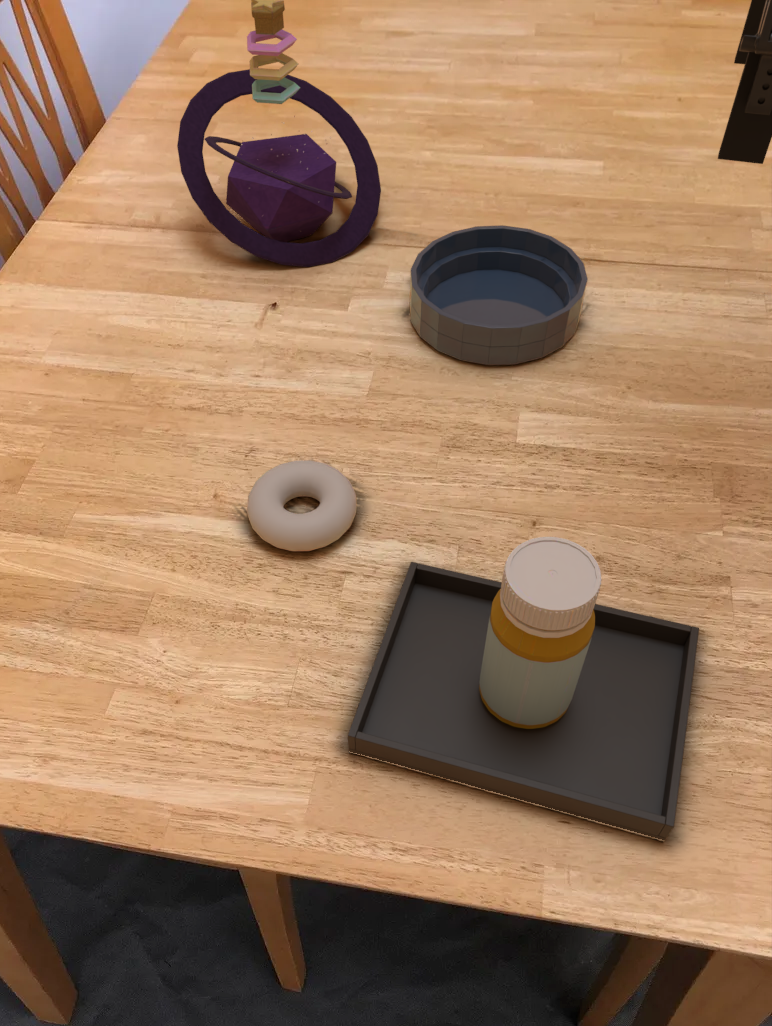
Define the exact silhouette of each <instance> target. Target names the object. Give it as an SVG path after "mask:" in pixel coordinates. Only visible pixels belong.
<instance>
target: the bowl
mask: <svg viewBox="0 0 772 1026" xmlns="http://www.w3.org/2000/svg"><path fill="white" fill-rule="evenodd" d="M409 276H410V277H409V279H410V282H409V318H410V319H409V320H410V323H411V325H412V326H413V327H414V329H415V331H416V333H417V334H418V336H419V338H420V339H422V340H423V341H425V342H426V343H427V344H428V345H430V346H431V347H432V348H433V349H435V350H436V351H438V352H440V353H442V354H444V355H447V356H449V357H452V358H454V359H457V360H459V361H464V362H468V363H473V364H480V365H486V366H504V365H507V366H508V365H518V364H523V363H527V362H531V361H534V360H535V361H536V360H538V359H543V358H545V357H546V356H548V355H550V354H552V353H554V352H556V351H557V350H559V349H561V348H563V347H564V346H565V345H566V344H567V342H569V340H570V339H571V338H572V337H573V336H574V335H575V334H576V332H577V329H578V326H579V322H580V319H581V314H582V310H583V305H584V300H585V296H586V291H587V284H588V281H589V280H588V279H589V277H588V275H587V271H586V267H585V264H584V262H583V261H582V259H581V258H580V257H579V256H578V255H577V253H576V252H575V251H574V249H572V247H570V246H568V245H566V244H565V243H563V242H562V241H560V240H558V239H557V238H555V237H554V236H552V235H548V234H546V233H543V232H540V231H536V230H534V229H531V228H526V227H518V226H512V225H503V224H502V225H501V224H500V225H499V224H498V225H478V226H473V227H472V226H471V227H468V228H463V229H458V230H455V231H451V232H448V233H446V234H445V235H442V236H441V237H438V238H436V239H434V240H432V241H431V242H429V244H428V245H427V246H425V247H424V248H423V249H422V250H421V251H419V253H417V255H416V257H415V259H414V261H413V263H412V265H411V268H410V275H409Z"/></svg>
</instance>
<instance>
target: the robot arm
mask: <svg viewBox="0 0 772 1026" xmlns="http://www.w3.org/2000/svg"><path fill="white" fill-rule="evenodd" d="M737 46H738V47H737V50H736V53H735V57H734V62H733V63H734V64H738V65H744V66H743V69H742V73H741V76H740V80H739V83H738V86H737V91H736V92H735V95H734V96H735V97H734V99H733V103H732V107H731V110H730V114H729V116H728V120H727V124H726V127H725V130H724V134H723V137H722V140H721V143H720V147H719V151H718V155H717V160H723V161H732V162H739V163H740V162H742V163H751V164H758V165H759V164H760V165H763V164H764V161H765V158H766V155H767V152H768V149H769V148H770V147H769V146H770V144H771V141H772V0H751V1H750V5H749V8H748V11H747V15H746V19H745V22H744V25H743V29H742V32H741V36H740V39H739V43H738V45H737Z"/></svg>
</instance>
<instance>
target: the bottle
mask: <svg viewBox="0 0 772 1026" xmlns="http://www.w3.org/2000/svg"><path fill="white" fill-rule="evenodd" d="M602 581H603V580H602V571H601V568H600V565H599V563H598V561H597V560H596V558H595V557H594V556H593V554H592V553H591V552H590V551H589V550H588V549H586V548H585V547H584V546H582V545H580V544H579V543H577V542H574V541H572V540H570V539H567V538H564V537H557V536H539V537H534V538H530V539H528V540H525V541H524V542H521V543H520V544H518V545H517V546H516V547H515V548H513V549H512V551H511V552H510V553H509V555H508V557H507V559H506V561H505V562H504V568H503V573H502V578H501V582H502V584H501V589H500V590H499V591H498V593H497V594H496V596H495V598H494V600H493V603H492V607H491V611H490V618H489V624H488V630H487V636H486V642H485V649H484V655H483V661H482V667H481V674H480V682H479V683H480V684H479V690H480V694H481V698H482V701H483V703H484V704H485V706H486V707H487V709H488V710H489V711H490V712H491V713H492V714H493V715H494V716H495V717H496V718H498V719H499V720H500V721H502V722H504V723H506V724H509V725H511V726H514V727H518V728H524V729H535V728H542V727H546V726H548V725H550V724H552V723H555V722H556V721H558V720H559V719H560V718H561V717H562V716H563V715H564V714H565V712H566V711H567V709H568V707H569V705H570V702H571V700H572V697H573V694H574V691H575V688H576V685H577V682H578V679H579V676H580V673H581V670H582V666H583V663H584V660H585V657H586V654H587V651H588V648H589V645H590V642H591V639H592V635H593V632H594V627H595V613H594V610H593V609H594V606H595V604H597V600H598V598H599V594H600V592H601V591H600V590H601V586H602Z"/></svg>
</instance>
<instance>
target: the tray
mask: <svg viewBox="0 0 772 1026" xmlns="http://www.w3.org/2000/svg"><path fill="white" fill-rule="evenodd" d="M501 584H502V581H498V580H493V579H488V578H485V577H480V576H476V575H471V574H467V573H463V572H458V571H453V570H451V569H450V570H449V569H445V568H442V567H441V568H440V567H437V566H432V565H429V564H424V563H418V562H415V561H410V563H409V566H408V569H407V571H406V575H405V577H404V580H403V583H402V586H401V587H400V591H399V593H398V597H397V598H396V602H395V604H394V606H393V607H394V608H393V609H392V611H391V615H390V618H389V621H388V624H387V626H386V629H385V632H384V633H383V634H384V635H383V637H382V640H381V642H380V645H379V648H378V650H377V653H376V656H375V659H374V661H373V664H372V668H371V669H370V672H369V675H368V678H367V681H366V683H365V687H364V689H363V692H362V694H361V698H360V700H359V703H358V705H357V708H356V711H355V713H354V716H353V719H352V722H351V724H350V727H349V729H348V733H347V749H348V752H349V751H350V752H353V753H357V754H360V755H361V754H362V755H365V756H369V757H372V758H377V759H379V760H382V761H387V762H390V763H394V764H398V765H401V766H405V767H408V768H411V769H415V770H419V771H422V772H426V773H429V774H433V775H436V776H440V777H443V778H446V779H450V780H454V781H458V782H461V783H465V784H468V785H471V786H475V787H478V788H481V789H485V790H488V791H493V792H496V793H500V794H503V795H507V796H510V797H514V798H517V799H520V800H524V801H527V802H531V803H535V804H539V805H542V806H545V807H548V808H551V809H552V808H553V809H555V810H559V811H563V812H567V813H570V814H574V815H576V816H581V817H584V818H588V819H591V820H595V821H598V822H602V823H605V824H609V825H612V826H616V827H620V828H623V829H627V830H630V831H634V832H637V833H641V834H644V835H648V836H651V837H655V838H658V839H662V840H665V841H666V840H667V839H668V837H669V836H670V834H671V832H672V831H673V830H674V827H675V824H676V816H677V808H678V799H679V792H680V785H681V784H680V783H681V776H682V768H683V759H684V753H685V752H684V751H685V745H686V744H685V743H686V735H687V728H688V720H689V712H690V705H691V697H692V688H693V681H694V671H695V665H696V658H697V648H698V641H699V633H700V627H697V626H693V625H692V626H691V625H690V624H685V623H680V622H676V621H673V620H672V621H671V620H667V619H664V618H658V617H654V616H650V615H646V614H642V613H637V612H634V611H633V612H632V611H628V610H624V609H619V608H616V607H610V606H606V605H602V604H597V603H595V606H594V609H593V610H594V613H595V627H594V632H593V635H592V639H591V642H590V645H589V648H588V651H587V654H586V657H585V660H584V663H583V666H582V670H581V673H580V676H579V679H578V682H577V685H576V688H575V691H574V694H573V697H572V700H571V702H570V705H569V707H568V709H567V711H566V712H565V714H564V715H563V716H562V717H561V718H560V719H559V720H558V721H556V722H555V723H552V724H550V725H548V726H546V727H542V728H535V729H524V728H518V727H514V726H511V725H509V724H506V723H504V722H502V721H500V720H499V719H498V718H496V717H495V716H494V715H493V714H492V713H491V712H490V711H489V710H488V709H487V707H486V706H485V704H484V703H483V701H482V698H481V694H480V690H479V684H480V683H479V682H480V674H481V667H482V661H483V655H484V649H485V642H486V636H487V630H488V624H489V618H490V611H491V607H492V603H493V600H494V598H495V596H496V594H497V593H498V591H499V590H500V589H501Z"/></svg>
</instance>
